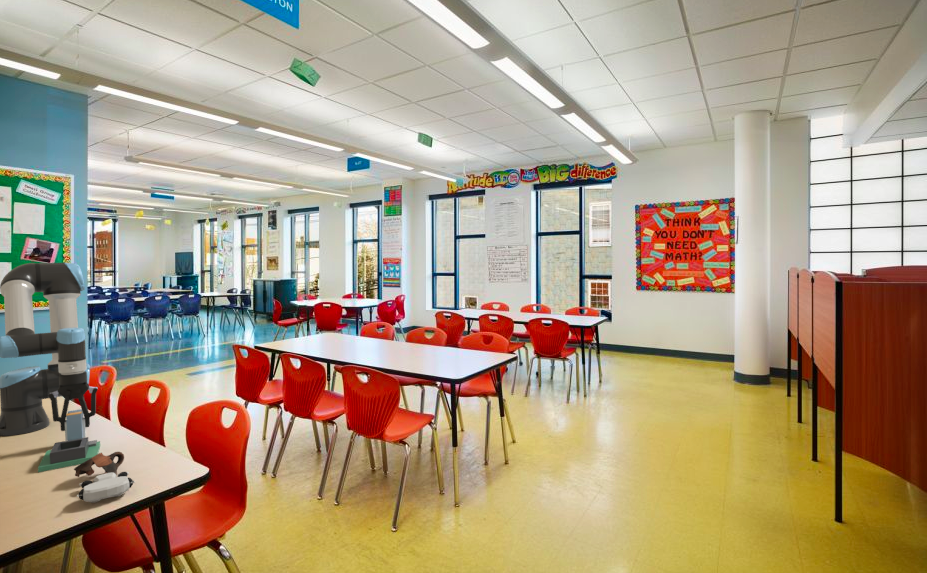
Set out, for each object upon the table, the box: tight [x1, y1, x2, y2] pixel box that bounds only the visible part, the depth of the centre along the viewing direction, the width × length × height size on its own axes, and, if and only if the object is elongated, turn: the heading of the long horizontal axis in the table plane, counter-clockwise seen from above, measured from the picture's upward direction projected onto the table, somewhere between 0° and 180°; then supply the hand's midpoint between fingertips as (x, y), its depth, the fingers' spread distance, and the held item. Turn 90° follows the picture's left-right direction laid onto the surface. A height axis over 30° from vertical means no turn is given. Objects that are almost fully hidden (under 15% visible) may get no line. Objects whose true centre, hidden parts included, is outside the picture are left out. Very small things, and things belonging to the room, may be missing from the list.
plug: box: [65, 408, 84, 441], centre depth 164 cm, size 6×4×10 cm, turn 35°
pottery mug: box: [73, 451, 125, 478], centre depth 139 cm, size 12×10×8 cm
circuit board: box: [37, 436, 101, 473], centre depth 152 cm, size 16×14×5 cm
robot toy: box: [76, 471, 136, 504], centre depth 128 cm, size 12×4×15 cm
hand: (76, 437), depth 164 cm, fingers closed on plug, 4 cm apart
